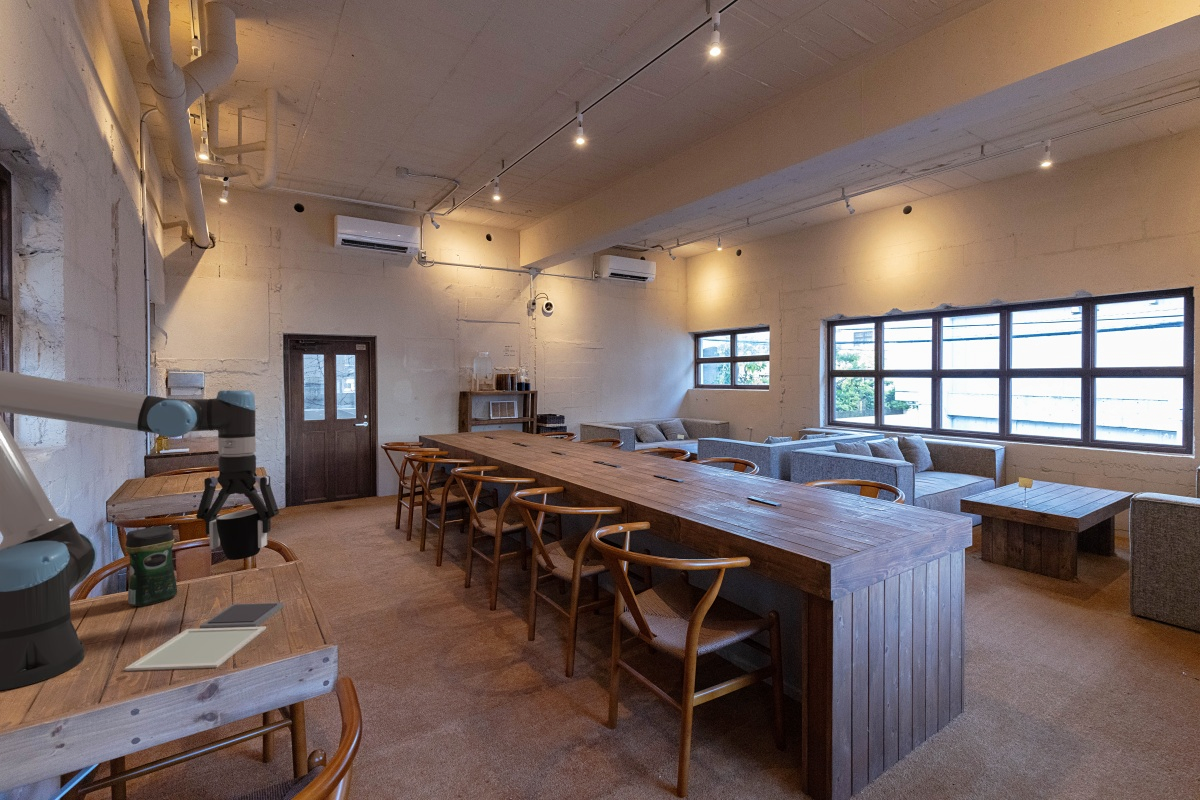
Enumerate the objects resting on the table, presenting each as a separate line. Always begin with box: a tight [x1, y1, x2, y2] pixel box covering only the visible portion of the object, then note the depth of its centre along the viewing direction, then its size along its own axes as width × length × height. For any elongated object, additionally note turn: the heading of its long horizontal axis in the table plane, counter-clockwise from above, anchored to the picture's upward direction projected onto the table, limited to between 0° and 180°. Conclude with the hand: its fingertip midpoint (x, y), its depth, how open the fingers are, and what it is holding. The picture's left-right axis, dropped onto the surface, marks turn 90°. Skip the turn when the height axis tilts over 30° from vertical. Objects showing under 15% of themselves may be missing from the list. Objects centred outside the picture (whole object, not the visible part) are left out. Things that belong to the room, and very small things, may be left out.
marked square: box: [124, 625, 267, 672], centre depth 114 cm, size 17×17×1 cm
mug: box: [215, 509, 261, 561], centre depth 134 cm, size 12×9×10 cm
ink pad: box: [199, 602, 285, 629], centre depth 129 cm, size 12×12×1 cm
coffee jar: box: [124, 524, 178, 607], centre depth 141 cm, size 10×8×19 cm
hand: (238, 546), depth 133 cm, fingers closed on mug, 10 cm apart
